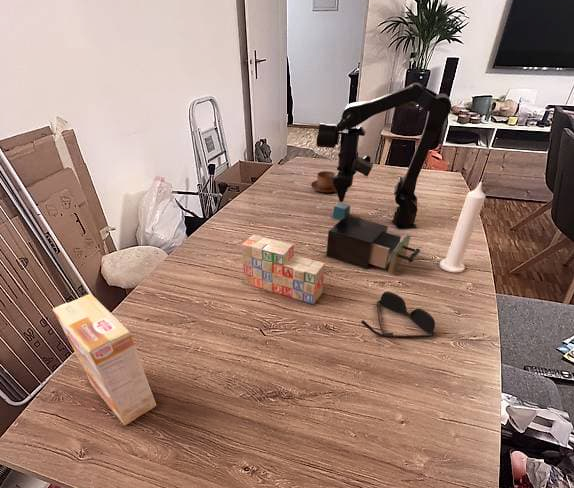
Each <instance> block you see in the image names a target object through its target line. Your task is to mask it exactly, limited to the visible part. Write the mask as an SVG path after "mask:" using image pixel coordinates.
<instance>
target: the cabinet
mask: <svg viewBox="0 0 574 488" xmlns="http://www.w3.org/2000/svg"><path fill="white" fill-rule="evenodd" d="M388 227H389V226H388V225H386V224H382V223H379V222H374V221H371V220H368V219H363V218H359V217H356V216H351V215H349V216H348V215H347V216H346V217H345V218H343V219H342V220H339V221H338V222H336V224H334V225H333V226H332V227H331V228H330V229H328V231H327V232H328V234H327V244H326V253H325V254H326V257H328V258H331V259H333V260H334V259H335V260H338V261H340V262H344V263H346V264H350V265H352V266H356V267H359V268H362V269H365V270H367V269H368V268H369V267H370V266H371V265H372V264H369V258H370V252H371V246H372V243H373V242H374V241H375V240H376V239H377V238H378V237H379V236H380V235H381V234H382V233H383V232H384V231H387V232H388Z"/></svg>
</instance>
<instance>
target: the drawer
mask: <svg viewBox="0 0 574 488" xmlns="http://www.w3.org/2000/svg"><path fill="white" fill-rule="evenodd" d="M410 241H411V235H408V234H406V235H405V237H404V238H402V235H401V234H398V233H393V232H390V231H388V230H387V231H384V232H383V233H382V234H381V235H380V236H379V237H378V238H377V239H376V240H375V241H374V242H373V243H372V246H371V252H370V258H369V264H371V265H373V266H375V267H378V268H382V269H387V267H388V270H387V272H388V273H391V274H393V273H394V272H395V270H396V269H397V268H398V266H399V265H400V264H401V263H402V261H404V260H406V261H407V262H408V263H413V262H414V260H415V259H416V258H417V256H418V255H419V254H420V252H421V249H420V248H414V247H413V248H412V247H409V244H410ZM408 251H409V252H412V253H411V254H410V256H407V253H408Z"/></svg>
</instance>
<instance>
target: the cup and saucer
mask: <svg viewBox="0 0 574 488" xmlns="http://www.w3.org/2000/svg"><path fill="white" fill-rule="evenodd" d="M335 174H336V173H335V172H332V171H329V170H327V171H325V170H324V171H319V172H317V175H316V177H317V179H316V180H314V181H312V182H311V184H310V185H311V188H312V189H313V190H315V192H319V193H333V192H336V189H335V186H334V185H333V177H334V175H335Z"/></svg>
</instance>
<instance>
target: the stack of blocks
mask: <svg viewBox="0 0 574 488" xmlns="http://www.w3.org/2000/svg"><path fill="white" fill-rule="evenodd" d="M241 256H242V257H241V258H242V264H243V265H242V266H243V278H244V279H243V280H244V284H247V285H249V286H253V287H255V288H259V289H262V290H264V291H268V292H272V293H276V294H279V295H282V296H285V297H288V298H292V299H295V300H297V301H301V302H304V303H307V304H310V305H314V304H315V303H316V302H317V300H318V299H319V298H320V297H321V295H322V294H323V290H324V289H323V287H324V276H325V267H326V263H325V262H322V261H318V260H314V259H311V258H306V257H303V256H299V255H295V254H294V244H292V243H289V242H284V241H280V240H277V239H273V238H269V237H264V236H261V235H257V234H252V235H251V236H250V237H248V238H247V239H246V240H245V241H243V242H242V243H241Z"/></svg>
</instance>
